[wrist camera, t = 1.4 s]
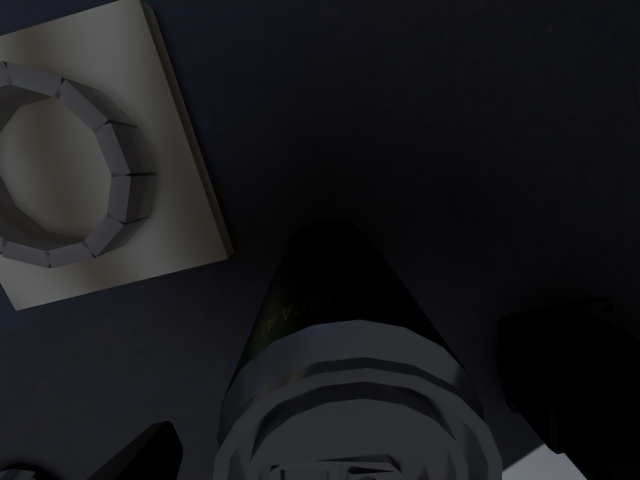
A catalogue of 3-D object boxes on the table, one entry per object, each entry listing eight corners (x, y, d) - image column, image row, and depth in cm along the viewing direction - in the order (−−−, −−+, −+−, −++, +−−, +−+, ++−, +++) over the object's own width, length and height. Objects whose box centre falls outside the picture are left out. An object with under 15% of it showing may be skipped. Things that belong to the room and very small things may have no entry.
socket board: (153, 10, 14) (103, -37, 10) (234, 252, 16) (214, 272, 13) (-81, 79, 14) (-193, 54, 11) (36, 300, 17) (-27, 330, 14)
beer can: (282, 306, 17) (206, 598, 6) (282, 215, 16) (185, 349, 4) (373, 308, 17) (487, 601, 6) (381, 218, 16) (549, 359, 4)
